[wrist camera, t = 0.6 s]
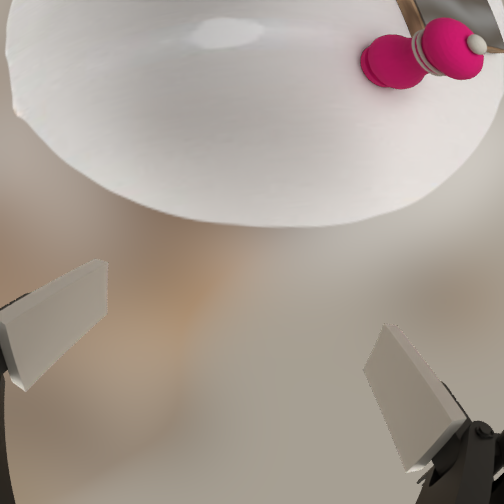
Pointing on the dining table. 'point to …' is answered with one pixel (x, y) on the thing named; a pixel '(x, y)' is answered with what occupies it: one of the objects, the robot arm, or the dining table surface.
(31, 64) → the dining table surface
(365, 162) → the dining table surface
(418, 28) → the walnut stand
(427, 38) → the pepper mill
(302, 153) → the dining table surface
